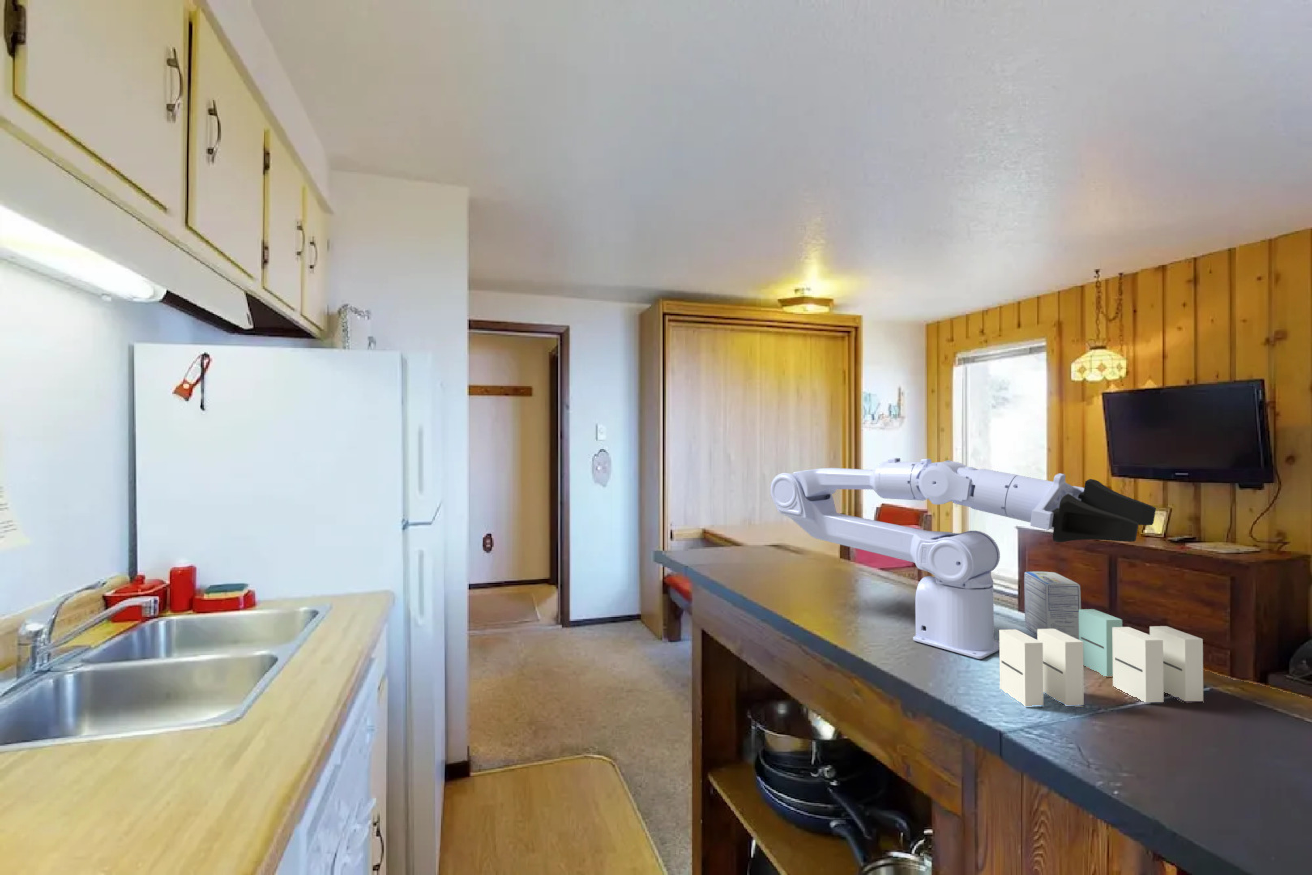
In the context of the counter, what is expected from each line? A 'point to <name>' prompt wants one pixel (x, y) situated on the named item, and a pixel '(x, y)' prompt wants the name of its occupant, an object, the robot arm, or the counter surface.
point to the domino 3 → (1097, 639)
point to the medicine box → (1052, 603)
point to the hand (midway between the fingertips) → (1145, 524)
